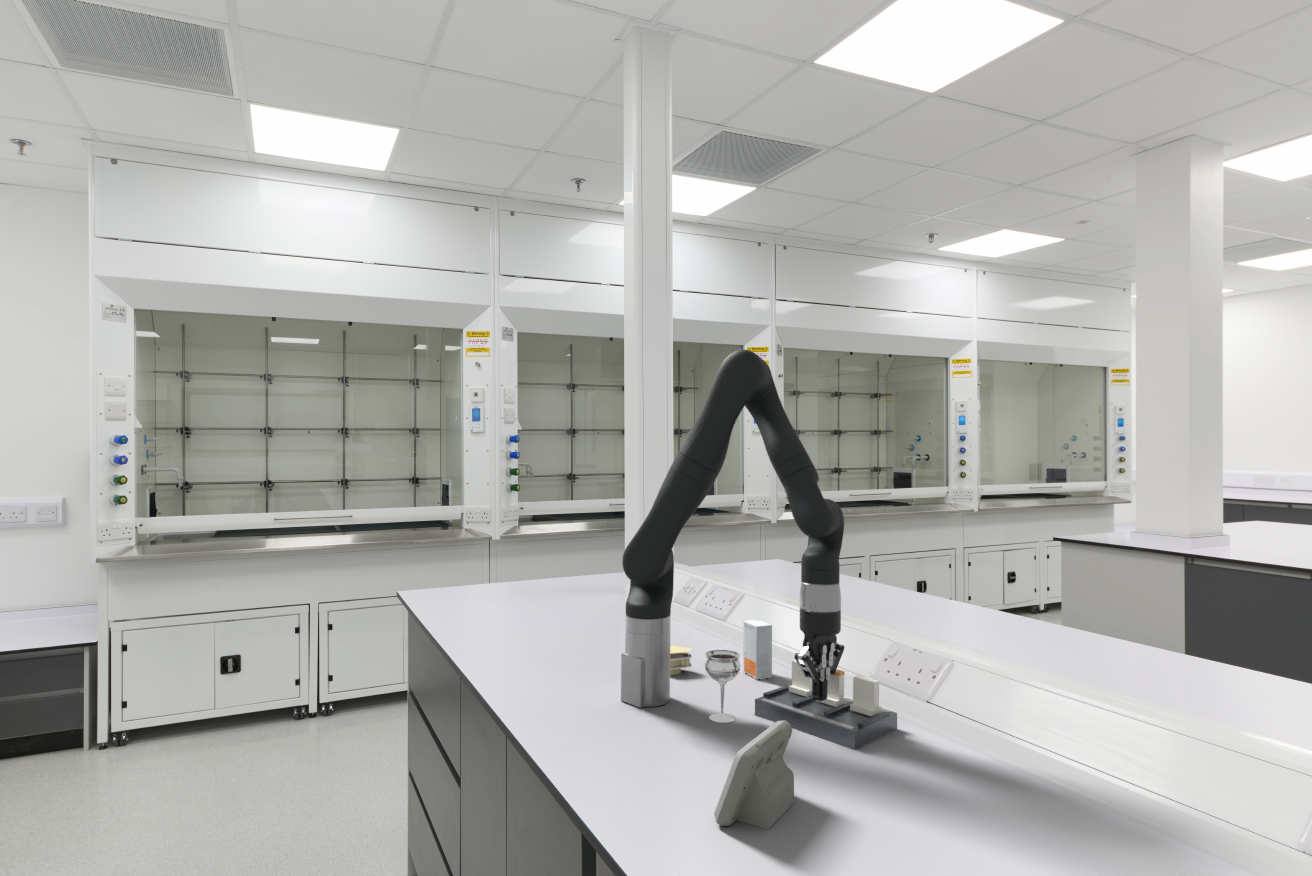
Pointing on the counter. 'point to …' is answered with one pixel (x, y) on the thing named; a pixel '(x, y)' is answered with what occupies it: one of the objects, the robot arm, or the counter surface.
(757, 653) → the skincare box
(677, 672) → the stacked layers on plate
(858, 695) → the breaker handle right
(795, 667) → the breaker handle left
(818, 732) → the breaker panel
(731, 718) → the wineglass
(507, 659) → the counter surface
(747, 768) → the digital clock
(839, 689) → the breaker handle
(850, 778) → the counter surface
